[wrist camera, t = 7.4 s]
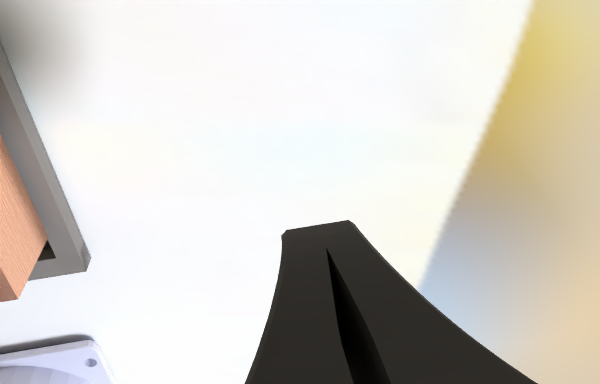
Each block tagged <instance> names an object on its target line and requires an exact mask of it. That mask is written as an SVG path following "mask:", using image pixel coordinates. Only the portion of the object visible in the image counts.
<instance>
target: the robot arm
mask: <svg viewBox="0 0 600 384" xmlns="http://www.w3.org/2000/svg"><path fill="white" fill-rule="evenodd" d="M281 237H282V254H281V263H280V269H279V275H278V280H277V284H276V289H275V293H274V297H273V301H272V305H271V309H270V313H269V316H268V319H267V322H266V326H265V329H264V332H263V335H262V338H261V341H260V344H259V347H258V350H257V353H256V356H255V359H254V361H253V364H252V367H251V369H250V372H249V374H248V377H247V379H246V382H245V384H537V383H536V382H534V381H533V380H531V379H529V378H528V377H527V376H525V375H524V374H522V373H521V372H519V371H518V370H516V369H515V368H513V367H512V366H510V365H509V364H507V363H506V362H505V361H503V360H502V359H500V358H499V357H498V356H496V355H495V354H494V353H492V352H490V350H488V349H487V348H485V347H484V346H483V345H481V344H480V343H479V342H477V341H476V340H475V339H473V338H472V337H471V336H469V335H468V334H467V333H466V332H464V331H463V330H462V329H461V328H459V327H458V326H457V325H456V324H455V323H453V322H452V321H451V320H450V319H448V318H447V317H446V316H445V315H444V314H443V313H441V312H440V311H439V310H438V309H437V308H436V307H434V306H433V305H432V304H431V303H430V302H429V301H428V300H426V299H425V298H424V297H423V296H422V295H421V294H420V293H419V292H418V291H417V290H416V289H415V288H414V287H413V286H412V285H410V284H409V283H408V282H407V281H406V280H405V279H404V278H403V277H402V276H401V275H400V274H399V273H398V272H397V271H396V270H395V269H394V268H393V267H392V266H391V265H390V264H389V263H388V262H387V261H386V260H385V259H384V258H383V257H382V255H381V254H380V253H379V252H378V251H377V250H376V249H375V248H374V247H373V246H372V245H371V243H370V242H369V241H368V240H367V239H366V238H365V237H364V235H363V234H362V233H361V232H360V231H359V229H358V228H357V227H356V226H355V224H353V223H352V222H351V221H349V220H346V221H340V222H333V223H327V224H321V225H315V226H309V227H303V228H296V229H290V230H286V231H285V232H284V234H283V235H282V236H281ZM0 384H117V382H116V379H115V377H114V375H113V373H112V371H111V369H110V366H109V364H108V362H107V360H106V358H105V356H104V354H103V351H102V349H101V347H100V346H99V344H98V343H96V342H94V341H91V340H84V341H78V342H72V343H66V344H60V345H54V346H48V347H42V348H37V349H31V350H25V351H19V352H13V353H7V354H1V355H0Z"/></svg>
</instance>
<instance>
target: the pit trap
mask: <svg viewBox="0 0 600 384" xmlns="http://www.w3.org/2000/svg"><path fill="white" fill-rule="evenodd" d="M0 135H1V137H2V139H3V141H4V143H5V146H6V148H7V150H8V152H9V154H10V156H11V158H12V161H13V163H14V165H15V167H16V169H17V171H18V173H19V176H20V178H21V180H22V182H23V184H24V186H25V188H26V190H27V193H28V195H29V197H30V199H31V201H32V203H33V205H34V208H35V210H36V212H37V214H38V216H39V218H40V220H41V223H42V225H43V227H44V229H45V231H46V233H47V235H48V239H47V241H46V243H45V245H44V247H43V249H42V251H41V253H40V256H39V258H38V260H37V262H36V264H35V266H34V268H33V270H32V272H31V274H30V276H29V278H28V280H27V281H30V280H36V279H42V278H48V277H54V276H60V275H67V274H73V273H79V272H85V271H86V270H87V268H88V265H89V262H90V259H91V257H90V254H89V252H88V249H87V247H86V245H85V242H84V240H83V238H82V235H81V233H80V230H79V228H78V226H77V223H76V221H75V219H74V216H73V214H72V211H71V209H70V207H69V204H68V202H67V200H66V197H65V195H64V192H63V190H62V188H61V185H60V183H59V180H58V178H57V176H56V173H55V171H54V169H53V166H52V164H51V161H50V159H49V157H48V154H47V152H46V150H45V147H44V145H43V142H42V140H41V138H40V135H39V133H38V131H37V128H36V126H35V123H34V121H33V119H32V116H31V114H30V112H29V109H28V107H27V104H26V102H25V100H24V97H23V95H22V93H21V90H20V88H19V85H18V83H17V81H16V78H15V76H14V74H13V71H12V69H11V66H10V64H9V62H8V59H7V57H6V55H5V52H4V50H3V47H2V45H1V43H0Z"/></svg>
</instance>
